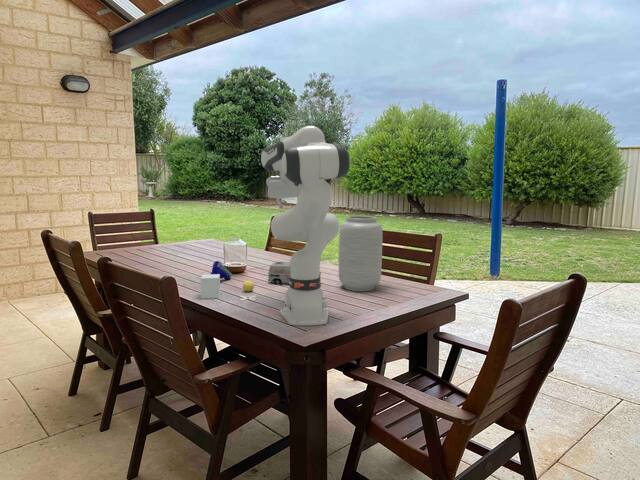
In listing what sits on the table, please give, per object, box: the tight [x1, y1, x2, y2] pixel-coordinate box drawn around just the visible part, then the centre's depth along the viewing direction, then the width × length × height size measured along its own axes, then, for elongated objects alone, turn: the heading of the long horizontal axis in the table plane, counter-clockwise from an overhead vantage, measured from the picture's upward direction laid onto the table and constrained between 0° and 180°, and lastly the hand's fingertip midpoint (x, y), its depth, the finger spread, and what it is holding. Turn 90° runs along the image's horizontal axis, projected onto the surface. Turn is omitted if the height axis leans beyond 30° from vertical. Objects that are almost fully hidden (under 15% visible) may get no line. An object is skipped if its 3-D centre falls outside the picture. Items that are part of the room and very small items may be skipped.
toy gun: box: [210, 260, 233, 281], centre depth 227 cm, size 4×13×10 cm
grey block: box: [200, 273, 221, 300], centre depth 200 cm, size 7×7×9 cm
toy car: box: [267, 261, 322, 286], centre depth 226 cm, size 11×25×10 cm, turn 78°
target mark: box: [239, 295, 258, 302], centre depth 198 cm, size 9×9×1 cm
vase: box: [338, 215, 383, 292], centre depth 217 cm, size 20×20×34 cm
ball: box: [242, 280, 255, 292], centre depth 209 cm, size 5×5×5 cm
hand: (292, 207), depth 199 cm, fingers open, 8 cm apart
